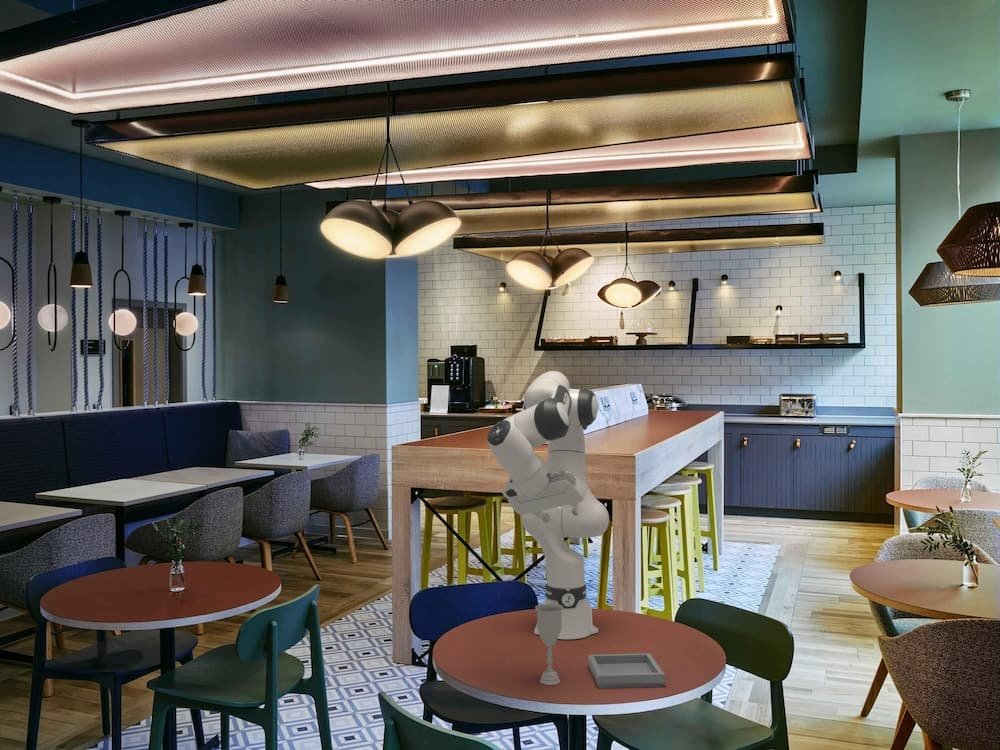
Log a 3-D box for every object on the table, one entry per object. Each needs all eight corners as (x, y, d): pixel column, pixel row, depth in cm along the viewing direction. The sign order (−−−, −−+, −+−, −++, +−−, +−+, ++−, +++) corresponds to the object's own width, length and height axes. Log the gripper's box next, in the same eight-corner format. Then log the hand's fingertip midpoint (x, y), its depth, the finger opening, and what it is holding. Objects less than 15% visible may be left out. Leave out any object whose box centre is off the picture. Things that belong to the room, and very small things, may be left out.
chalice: (547, 674, 211) (546, 602, 211) (569, 679, 207) (569, 606, 207) (529, 682, 205) (529, 608, 206) (552, 688, 201) (551, 612, 201)
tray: (588, 666, 217) (588, 654, 217) (649, 665, 217) (649, 653, 217) (598, 688, 201) (598, 675, 201) (664, 686, 201) (664, 674, 201)
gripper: (571, 460, 201) (600, 500, 206) (505, 477, 213) (534, 515, 218) (564, 478, 196) (594, 518, 201) (497, 495, 208) (527, 533, 213)
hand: (562, 517), depth 210 cm, fingers open, 8 cm apart
